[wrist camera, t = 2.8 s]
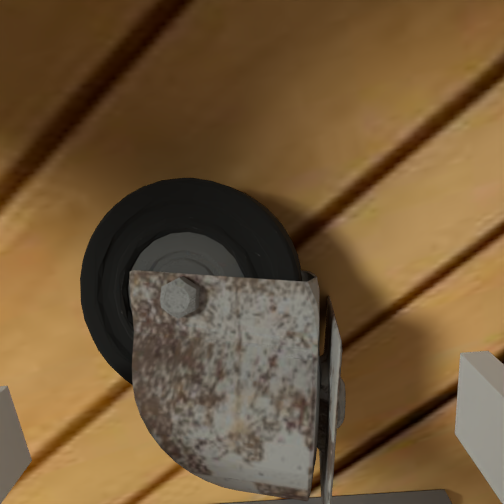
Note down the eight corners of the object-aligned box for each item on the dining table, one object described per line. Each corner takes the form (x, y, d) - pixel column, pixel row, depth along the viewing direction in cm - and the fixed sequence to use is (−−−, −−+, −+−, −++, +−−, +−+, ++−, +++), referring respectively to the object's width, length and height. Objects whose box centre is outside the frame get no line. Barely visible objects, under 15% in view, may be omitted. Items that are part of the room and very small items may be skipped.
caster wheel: (136, 185, 18) (349, 193, 16) (132, 409, 19) (331, 435, 17) (35, 164, 11) (375, 174, 10) (37, 510, 12) (345, 566, 11)
